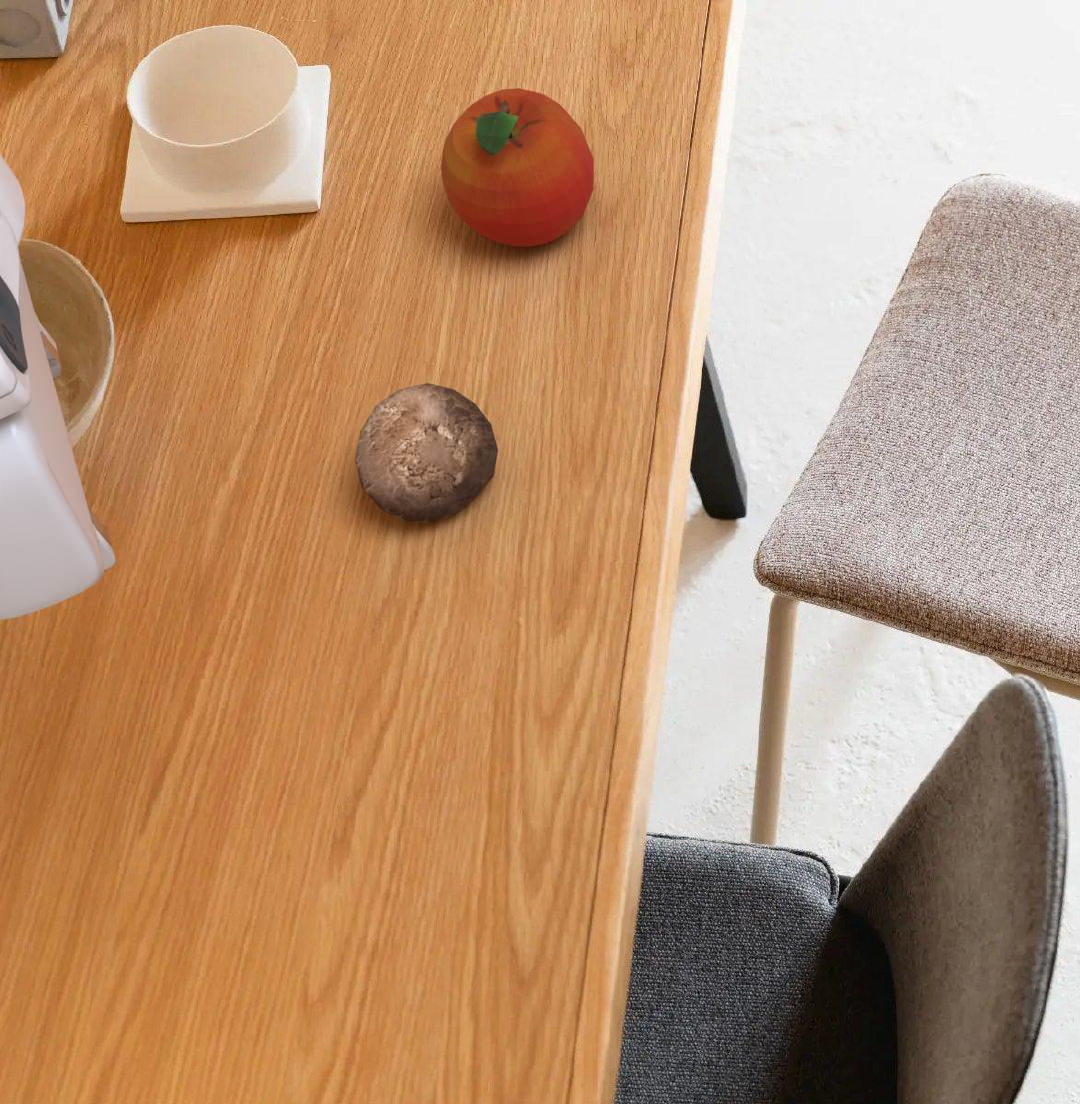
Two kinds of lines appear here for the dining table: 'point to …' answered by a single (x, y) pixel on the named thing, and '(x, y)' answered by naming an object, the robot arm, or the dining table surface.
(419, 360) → the dining table surface
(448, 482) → the mushroom
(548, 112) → the fruit
